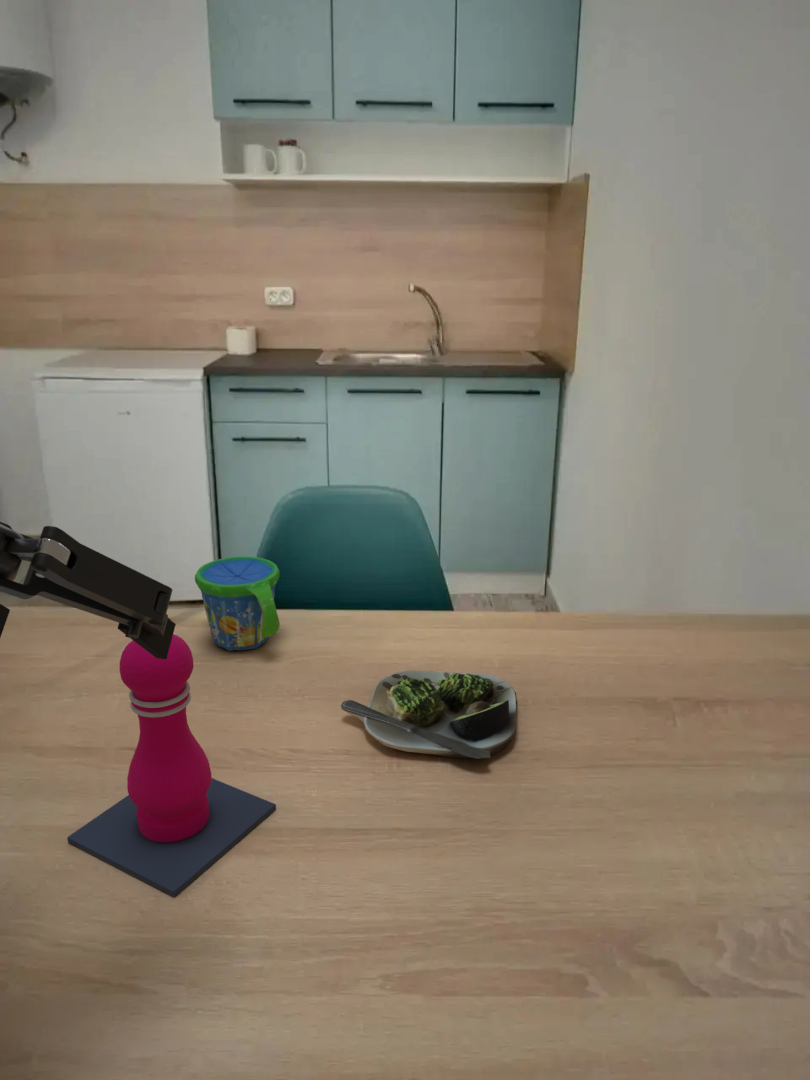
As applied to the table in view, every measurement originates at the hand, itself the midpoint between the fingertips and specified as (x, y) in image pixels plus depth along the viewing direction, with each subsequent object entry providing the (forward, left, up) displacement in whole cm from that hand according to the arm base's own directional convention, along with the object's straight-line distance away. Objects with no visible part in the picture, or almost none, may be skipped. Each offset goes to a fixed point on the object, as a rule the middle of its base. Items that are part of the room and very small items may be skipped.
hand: (81, 633), depth 62 cm
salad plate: (+12, +35, -23) cm, 44 cm away
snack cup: (-21, +39, -23) cm, 50 cm away
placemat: (-1, +7, -22) cm, 24 cm away
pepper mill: (0, +7, -22) cm, 23 cm away
